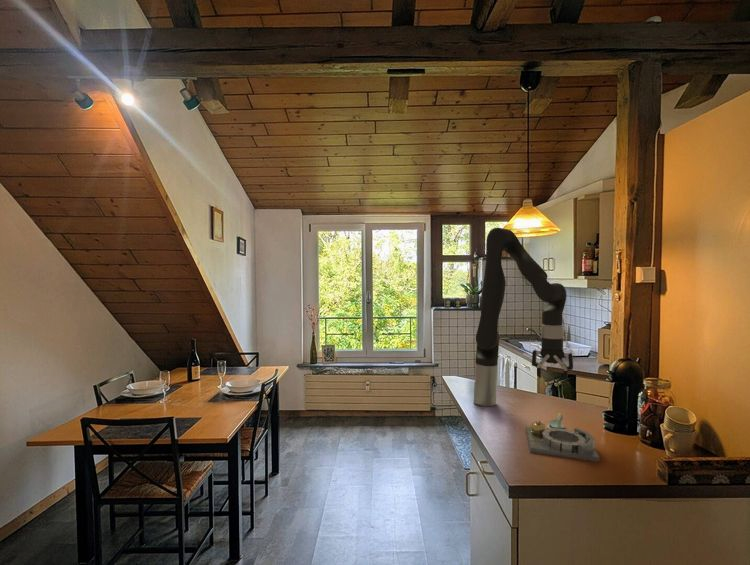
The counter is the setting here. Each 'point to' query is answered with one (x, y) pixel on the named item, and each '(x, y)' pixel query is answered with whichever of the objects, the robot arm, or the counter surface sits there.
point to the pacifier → (557, 422)
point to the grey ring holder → (561, 442)
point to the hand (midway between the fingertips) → (552, 378)
